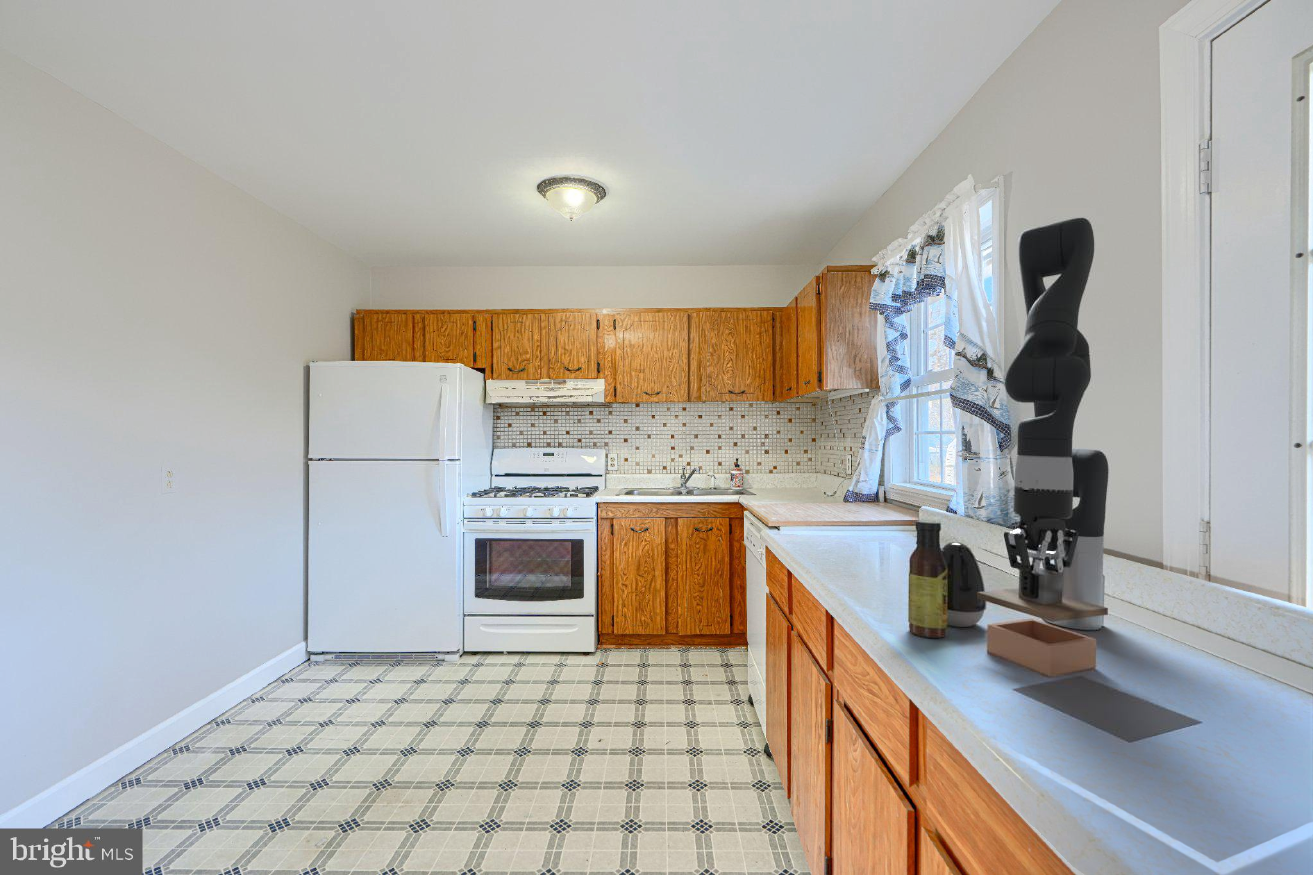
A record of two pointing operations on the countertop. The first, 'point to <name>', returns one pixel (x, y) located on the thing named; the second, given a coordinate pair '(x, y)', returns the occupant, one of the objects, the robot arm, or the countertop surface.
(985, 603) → the black egg-shaped device
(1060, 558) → the robot arm
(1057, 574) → the lid
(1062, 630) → the terracotta storage tray
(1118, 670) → the countertop surface
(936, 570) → the sauce bottle
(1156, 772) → the countertop surface
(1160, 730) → the mat
